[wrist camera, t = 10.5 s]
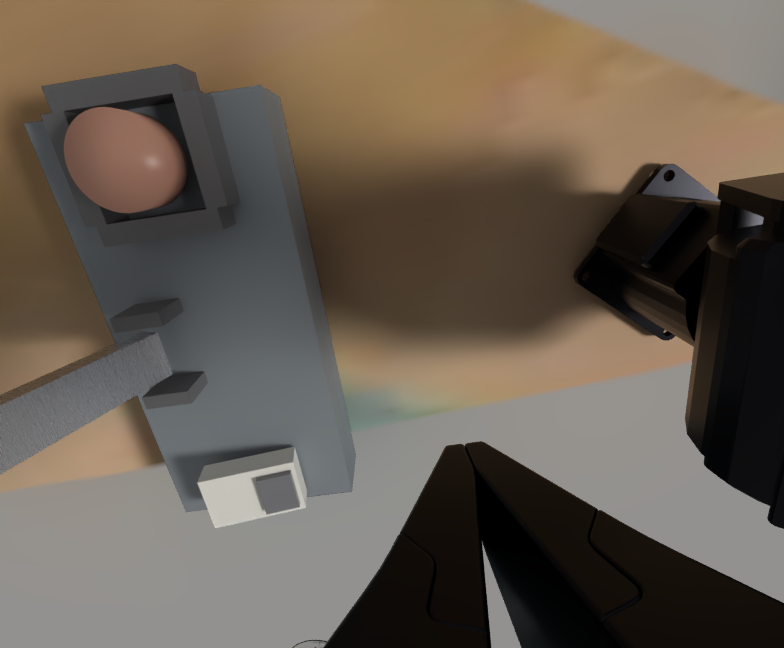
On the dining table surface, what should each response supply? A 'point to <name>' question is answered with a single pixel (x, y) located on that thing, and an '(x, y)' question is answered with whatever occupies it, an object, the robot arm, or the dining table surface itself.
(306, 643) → the wineglass
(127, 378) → the toggle lever
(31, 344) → the dining table surface
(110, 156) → the push button
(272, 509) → the rocker switch
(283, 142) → the panel
